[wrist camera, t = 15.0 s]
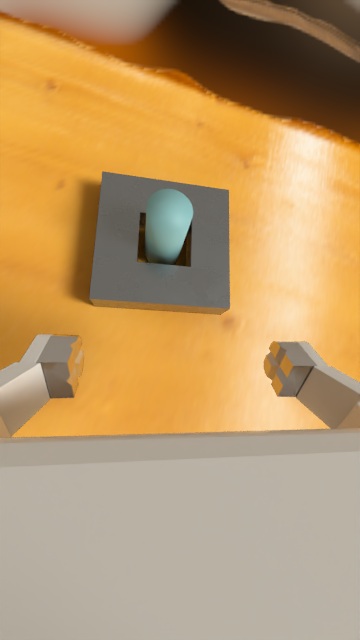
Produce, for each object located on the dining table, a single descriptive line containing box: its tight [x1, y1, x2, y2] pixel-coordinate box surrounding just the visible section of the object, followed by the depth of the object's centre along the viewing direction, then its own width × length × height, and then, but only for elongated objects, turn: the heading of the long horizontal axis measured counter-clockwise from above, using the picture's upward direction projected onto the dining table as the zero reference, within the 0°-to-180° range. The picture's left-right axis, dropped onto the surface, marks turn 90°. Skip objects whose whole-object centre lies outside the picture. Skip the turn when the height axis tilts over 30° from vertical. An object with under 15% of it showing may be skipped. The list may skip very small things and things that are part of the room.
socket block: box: [89, 172, 230, 315], centre depth 27 cm, size 14×14×3 cm
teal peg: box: [145, 189, 193, 265], centre depth 25 cm, size 4×4×8 cm
